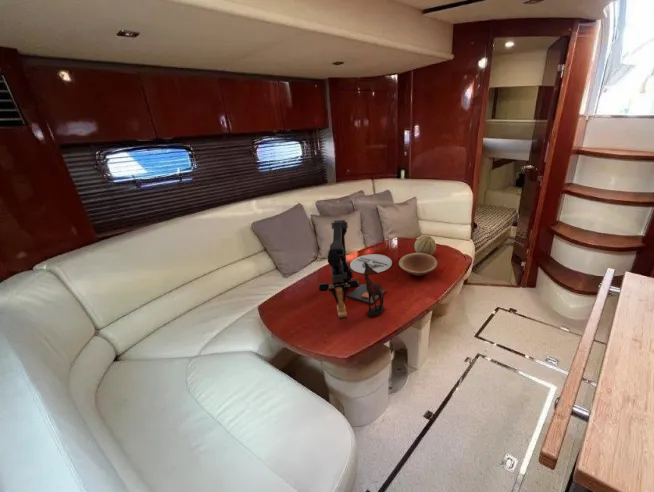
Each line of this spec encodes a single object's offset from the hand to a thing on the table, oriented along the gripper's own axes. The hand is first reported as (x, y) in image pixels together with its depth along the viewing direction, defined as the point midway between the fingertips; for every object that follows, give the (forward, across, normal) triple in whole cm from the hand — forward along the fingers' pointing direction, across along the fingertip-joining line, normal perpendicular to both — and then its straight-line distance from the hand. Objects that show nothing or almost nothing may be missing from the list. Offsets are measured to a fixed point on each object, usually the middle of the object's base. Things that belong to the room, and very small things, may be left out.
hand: (340, 303), depth 143 cm
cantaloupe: (-34, +58, +52) cm, 85 cm away
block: (-5, +13, +20) cm, 25 cm away
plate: (-32, +20, +50) cm, 63 cm away
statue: (+6, +16, +10) cm, 20 cm away
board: (-7, +14, +23) cm, 28 cm away
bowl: (-19, +48, +37) cm, 63 cm away
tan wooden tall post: (+4, 0, +6) cm, 8 cm away
